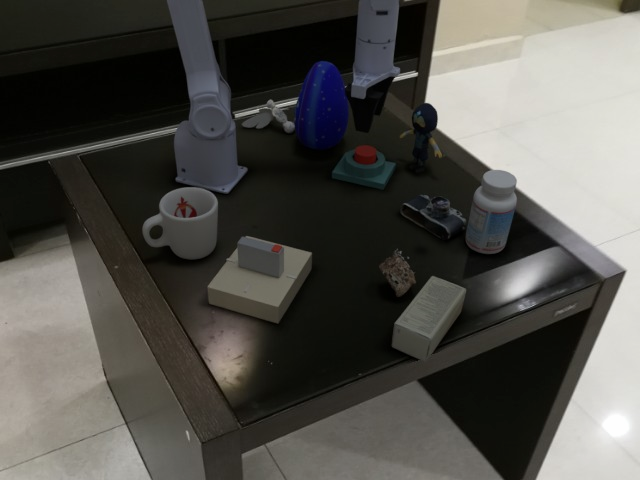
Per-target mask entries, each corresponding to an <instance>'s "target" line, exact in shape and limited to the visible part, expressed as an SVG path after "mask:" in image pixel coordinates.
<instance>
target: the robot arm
mask: <svg viewBox="0 0 640 480" xmlns="http://www.w3.org/2000/svg"><path fill="white" fill-rule="evenodd" d="M399 2H400V0H359V1H358V9H357V21H356V22H357V23H356V37H355V51H354V62H353V64H352V80H353V81H352V83H348V84H347V85H346V86H345V96H346V97H347V99H348V104H349V106H350V109H351V113H352V119H353V123H354V129H355V131H356V132H360V133H365V134H369V133H370V130H371V128H372V124H373V121H374V116H378V117H380V116H381V114H382V112H383V109H384V106H385V103H386V100H387V96H388V93H389V91H390V88H391V86H392V84H393V82H394V80H395V79H396V77H398V76H399V75H400V73H401V68H400V67H398V66H394V55H395V48H396V47H395V46H396V37H397V31H398V21H399V10H400V3H399ZM166 4H167V8H168V11H169V14H170V18H171V22H172V26H173V30H174V33H175V37H176V42H177V45H178V49H179V53H180V56H181V60H182V64H183V69H184V72H185V76H186V83H187V93H188V99H189V102H190V107H189V108H190V109H189V114H188V120H183V121H181V122H180V123H179V124H178V126H177V128H176V130H175V133H174V138H173V149H174V158H175V165H176V174H177V176H176V177H175V182H176V183H178V184H179V183H180V184H183V185H187V186H188V185H189V186H191V187H196V188H202V189H205V190H207V191H213V192H216V193H221V194H224V195H227V194H229V193H230V192H232V190H233V188H235V186H236V185H237V184H238V183H239V182H240V180H241V179H243V177H244V176H245V175H246V174H247V172H248V171H249V168H248V167H246V166H242V165H238V149H237V145H238V144H237V131H236V130H237V129H236V127H237V126H236V122H235V120H234V119H233V117H232V110H231V107H232V106H231V100H232V91H231V87H230V85H229V83H228V82H227V81H226V80H225V79H224V77H223V76H222V73H221V69H220V66H219V64H218V61H217V58H216V54H215V50H214V49H215V48H214V45H213V42H212V36H211V32H210V28H209V24H208V20H207V14H206V10H205V5H204V1H203V0H166Z"/></svg>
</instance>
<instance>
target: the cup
mask: <svg viewBox="0 0 640 480" xmlns="http://www.w3.org/2000/svg"><path fill="white" fill-rule="evenodd" d="M158 209H159V213H158V214H156V215H153V216H151V217H149V218H147V219H146V220H145V221H144V223H143V224H142V235H143V238H144V240H145V242H146V243H147V245H148V246H150V247H152V248H161V247H165V246H167V247H168V246H169V247H170V249H171V251H172V252H173V254H174V255H176V256H178V257H179V258H181V259H183V260H184V259H185V260H199V259H204V258H205V257H208V256H209V255H211V253H212V252H214V250H215V248H216V246H217V241H218V218H219V213H218V212H219V200H218V198H217V197H216V195H215V194H214V193H213V192H211V190H208V189H204V188H200V187H196V186H187V187H186V186H185V187H180V188H176V189H173V190H171V191H169V192H168V193H166V194H165V195H163V196H162V198H161V199H160V201H159V203H158ZM155 226H160V227H161V228H162V233H161V236H160V237H159V238H156V239H154V238H152V237H151V235H150V233H151V232H150V231H151V229H152V228H154V227H155Z"/></svg>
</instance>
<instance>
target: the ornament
mask: <svg viewBox="0 0 640 480" xmlns="http://www.w3.org/2000/svg"><path fill="white" fill-rule="evenodd" d="M345 88H346V86H345V82H344V79H343V77H342V74H341V72H340V71H339V69H338V68H337V66H335V64H333V63H332V62H329V61H325V60H321V61H316V62H315V63H313V65H312V67H311V68H310V70H309V71H308V72H307V74H306V76H305V78H304V80H303V81H302V86H301V89H300V91H299V94H298V97H297V100H296V103H295V107H294V111H293V115H294V119H293V123H294V125H295V130H294V131H295V133H296V137H297V139H298V140H299V142H300V143H301V144H302V146H304V147H306V148H309V149H312V150H319V151H320V150H324V151H325V150H329V149H332V148H334V147H335V146H337V145H338V144H339V143H340V142H341V140H342V139H343V137H344V135H345V134H346V131H347V129H348V124H349V115H350V110H349V109H350V107H349V106H350V105H349V101H348V99H347V97H346V96H345Z"/></svg>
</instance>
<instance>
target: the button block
mask: <svg viewBox="0 0 640 480" xmlns="http://www.w3.org/2000/svg"><path fill="white" fill-rule="evenodd" d="M355 149H356V148H354V149H351V150H349V151H347V152H345V153H344V154H343V155H342V157H341V159H340V160H339V161H338V162H337V164H336V165H335V167H334V168H333V170H332V171H331V179H333V180H334V179H335V180H338V181H343V182H347V183H351V184H356V185H360V186H363V187H364V186H365V187H369V188H372V189H378V190H385V188H386V186H387V184H388V183H389V181H390V179H391V178H392V176H393V174H394V172H395V170H396V165H397V163H396V162H392V161H387V160H386V158H385V155H384V154H383V153H382V152H380V151H379V150H377V149H376V151H377V155H376V162H375V163H373V164H370V165H363V164H359V163H357V162H355V161H354V155H355Z"/></svg>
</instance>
